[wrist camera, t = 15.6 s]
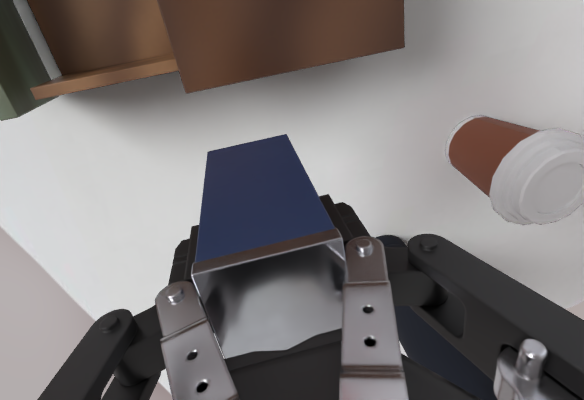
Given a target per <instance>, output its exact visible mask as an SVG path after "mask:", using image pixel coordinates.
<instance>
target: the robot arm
mask: <svg viewBox="0 0 584 400" xmlns="http://www.w3.org/2000/svg"><path fill="white" fill-rule="evenodd" d="M319 198H320V200H321V202H322V204H323V206H324V208H325V210H326V211H327V213H328V215H329V217H330V219H331V221H332V223H333V225H334V227H335V228H337V229H338V230H339V232H340V234H341V236H342V238H343V244H344V252H345V282H343V287H342V328H340V329H336V330H333V331H329V332H325V333H321V334H317V335H315V336H313V337H311V338H309V339H307V340H305V341H303V342H301V343H299V344H297V345H295V346H293V347H291V348H290V349H287V350H274V351H253V352H249V353H245V354H242V355H238V356H234V357H230V358H227V359H224V358H223V355H222V353H221V350H220V348H219V345H218V343H217V341H216V338H215V336H214V331H213V329H212V326H211V324H210V321H209V319H208V316H207V314H206V311H205V309H204V307H203V304H202V302H201V299H200V297H199V294H198V292H197V289H196V287H195V284H194V282H193V280H192V277H191V272H192V264H193V263H195V257H196V249H197V240H198V231H199V225H196V226H192V228H191V235H190V239H187V240H183V241H181V243H180V244H179V245H178V247H177V248H176V249H175V254H174V259H173V265H172V269H171V274H170V279H169V284H168V286H166V287H165V288H164V289H162V290H161V291H160V292H159V294H158V295H157V297H156V299H155V305H154V306H153V307H151V308H149V309H148V310H145V311H143V312H141V313H139V314H137V315H135V316H132V314H131V312H130V311H128V310H126V309H118V310H114V311H111V312H109V313H107V314H105V315H103V316H102V317H100V318H99V319H98V320H97V321H96V322H95V323H94V324H93V325H92V326H91V328H90V329H89V331H88V332H87V333H86V335H85V336H84V337H83V339H82V340H81V341H80V343H79V344H78V345H77V347H76V348H75V349H74V351H73V352H72V354H71V355H70V356H69V358H68V359H67V360H66V362H65V363H64V364H63V366H62V367H61V369H60V370H59V371H58V373H57V374H56V375H55V377H54V378H53V379H52V381H51V382H50V383H49V385H48V386H47V387H46V389H45V391H43V393H42V394H41V396H40V397H39V398H38V400H101V395H102V392H103V390H104V388H105V386H106V385H107V383H108V381H109V379H110V378H111V376H112V374H114V376H115V377H114V379H113V381H112V382H111V384H110V386H109V388H108V389H107V391H106V393H105V394H104V396H103V398H102V400H149V399H150V397H151V395H152V392H153V390H154V388H155V386H156V384H157V382H158V379H159V377H160V375H161V371H162V370H164V369H166V371H167V376H168V380H169V385H170V389H171V394H172V398H173V400H482V399H480V398H478V397H476V396H475V395H473V394H471V393H469V392H468V391H466V390H464V389H462V388H461V387H459V386H457V385H455V384H454V383H452V382H450V381H448V380H447V379H445V378H443V377H442V376H440V375H438V374H436V373H435V372H433V371H431V370H429V369H428V368H426V367H424V366H422V365H421V364H419V363H417V362H415V361H414V360H412V359H410V358H408V357H407V356H405V355H403V354H401V351H400V344H399V338H398V331H397V324H396V317H395V310H394V306H410V307H411V309H412V310H413V311H414V312H415V313H416V314H417V315H418V316H420V317H421V318H422V319H423V320H424V321H425V322H426V323H428V324H429V325H430V326H431V327H432V328H433V329H434V330H436V331H437V332H438V333H439V334H440V335H441V336H442V337H443V338H445V339H446V340H447V341H448V342H449V343H450V344H451V345H453V346H454V347H455V348H456V349H457V350H458V351H459V352H461V353H462V354H463V355H464V356H465V357H466V358H467V359H468V360H470V361H471V362H472V363H473V364H474V365H475V366H476V367H478V368H479V369H480V370H481V371H482V372H483V373H484V374H486V375H487V376H488V377H489V378H490V379H491V380H492V381H493V382H494V385H493V388H494V393H495V396H496V398H497V399H498V400H584V320H582V319H581V318H579V317H577V316H575V315H574V314H572V313H570V312H569V311H567V310H565V309H564V308H562V307H560V306H559V305H557V304H555V303H553V302H552V301H550V300H548V299H547V298H545V297H543V296H542V295H540V294H538V293H536V292H535V291H533V290H531V289H530V288H528V287H526V286H524V285H523V284H521V283H519V282H518V281H516V280H514V279H513V278H511V277H509V276H507V275H506V274H504V273H502V272H501V271H499V270H497V269H496V268H494V267H492V266H490V265H489V264H487V263H485V262H484V261H482V260H480V259H479V258H477V257H475V256H473V255H472V254H470V253H468V252H467V251H465V250H463V249H462V248H460V247H458V246H456V245H455V244H453V243H451V242H450V241H448V240H446V239H445V238H443V237H441V236H438V235H434V234H421V235H417V236H414V237H413V238H411V239H410V240H409V242H408V247H386V246H384V245H383V243H382V242H381V241H380V240H379V239H377V238H374V237H371V236H370V235H369V233H368V231H367V230H366V228H365V227H364V225H363V224H362V222H361V221H360V220H359V218H358V216H357V215H356V213H355V212H354V210H353V209H352V207H351V206H349V205H347V204H345V203H343V202H342V203H338V204H334V203H333V201H332V199H331V197H330V196H329V194H327V195H323V196H319Z"/></svg>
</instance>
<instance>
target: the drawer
mask: <svg viewBox="0 0 584 400" xmlns="http://www.w3.org/2000/svg"><path fill="white" fill-rule="evenodd" d="M27 1H28V4H29V6H30V8H31V10H32V12H33V14H34V16H35V19H36V21H37V23H38V25H39V27H40V29H41V31H42V34H43V36H44V38H45V40H46V42H47V44H48V46H49V49H50V51H51V53H52V55H53V57H54V59H55V61H56V64H57V66H58V68H59V70H60V72H61V74H62V76H60V77H57V78H55V79H52V80H51V79H50V77H49V75H48V73H47V71H46V69H45V67H44V64H43V62H42V60H41V58H40V56H39V54H38V52H37V50H36V48H35V46H34V44H33V42H32V40H31V38H30V36H29V33H28V31H27V29H26V27H25V25H24V23H23V21H22V19H21V17H20V15H19V13H18V11H17V9H16V7H15V5H14V3H13V0H0V120H1V121H3V120H8V119H12V118H17V117H20V116H22V115H24V114H26V113H28V112H29V111H31V110H33V109H35V108H37V107H39V106H41V105H43V104H45V103H47V102H49V101H51V100H53V99H55V98H57V97H58V96H59V95H64V94H68V93H73V92H78V91H83V90H88V89H93V88H97V87H102V86H107V85H112V84H117V83H122V82H127V81H131V80H136V79H141V78H146V77H151V76H156V75H161V74H165V73H170V72H175V71H179V70H178V67H177V64H176V60H175V57H174V54H173V51H172V48H171V44H170V41H169V38H168V35H167V31H166V28H165V25H164V22H163V19H162V15H161V12H160V9H159V6H158V3H157V0H27Z"/></svg>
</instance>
